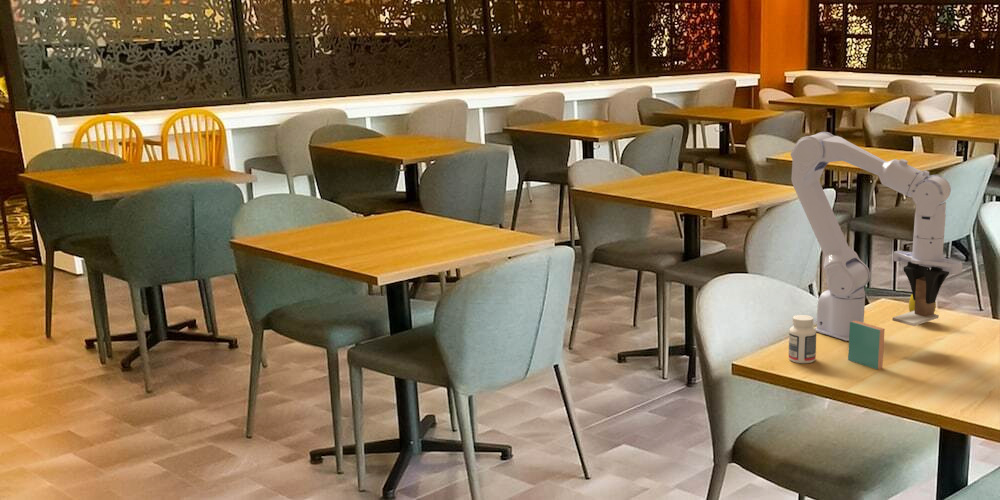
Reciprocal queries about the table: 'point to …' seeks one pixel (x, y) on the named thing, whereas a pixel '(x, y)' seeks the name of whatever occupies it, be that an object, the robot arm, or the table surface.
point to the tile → (866, 344)
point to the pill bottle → (802, 340)
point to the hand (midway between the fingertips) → (924, 301)
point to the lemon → (912, 304)
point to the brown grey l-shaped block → (918, 307)
